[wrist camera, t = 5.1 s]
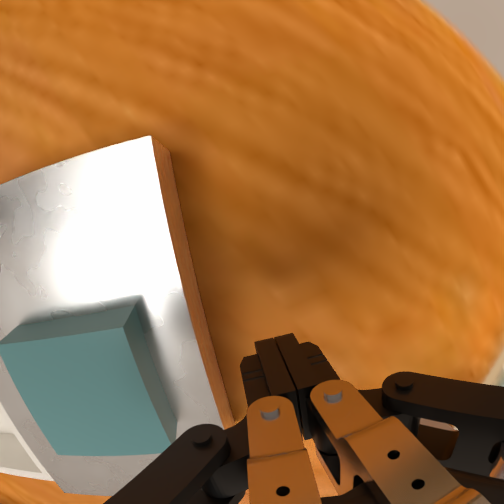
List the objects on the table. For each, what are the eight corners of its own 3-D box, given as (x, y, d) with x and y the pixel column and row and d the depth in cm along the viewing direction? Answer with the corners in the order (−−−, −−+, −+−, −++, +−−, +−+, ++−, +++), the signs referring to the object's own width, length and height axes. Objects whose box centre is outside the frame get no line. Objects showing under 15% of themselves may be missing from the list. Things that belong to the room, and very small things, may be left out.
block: (17, 325, 11) (-5, 344, 9) (134, 305, 12) (122, 327, 10) (68, 429, 13) (57, 455, 11) (177, 422, 13) (175, 452, 11)
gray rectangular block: (-5, 205, 15) (-66, 216, 10) (169, 151, 16) (150, 135, 11) (84, 437, 19) (64, 492, 14) (234, 422, 20) (244, 486, 15)
